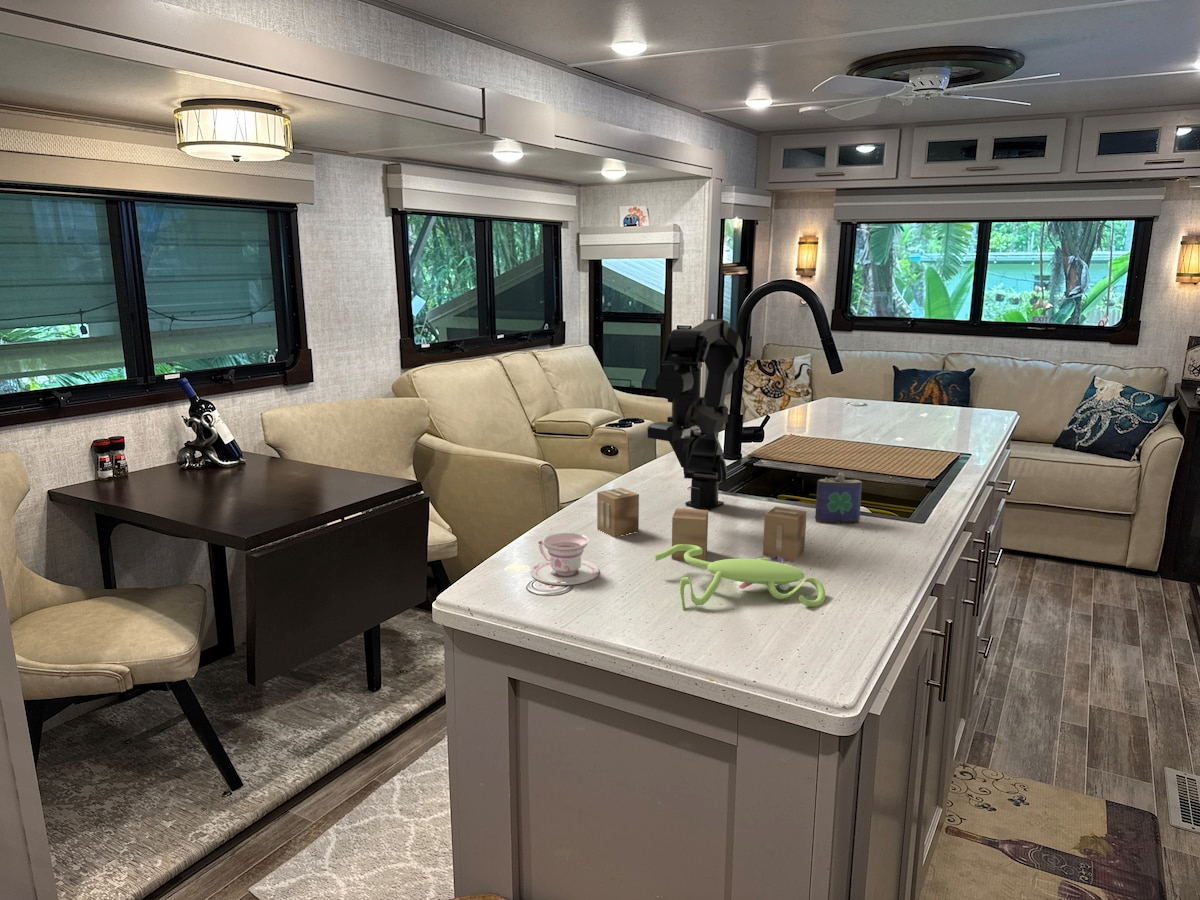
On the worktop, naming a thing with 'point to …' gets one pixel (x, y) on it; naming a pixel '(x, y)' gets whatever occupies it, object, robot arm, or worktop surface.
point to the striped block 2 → (784, 533)
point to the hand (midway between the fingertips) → (684, 467)
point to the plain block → (690, 531)
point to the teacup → (564, 560)
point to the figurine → (745, 574)
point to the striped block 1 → (617, 512)
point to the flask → (838, 500)
